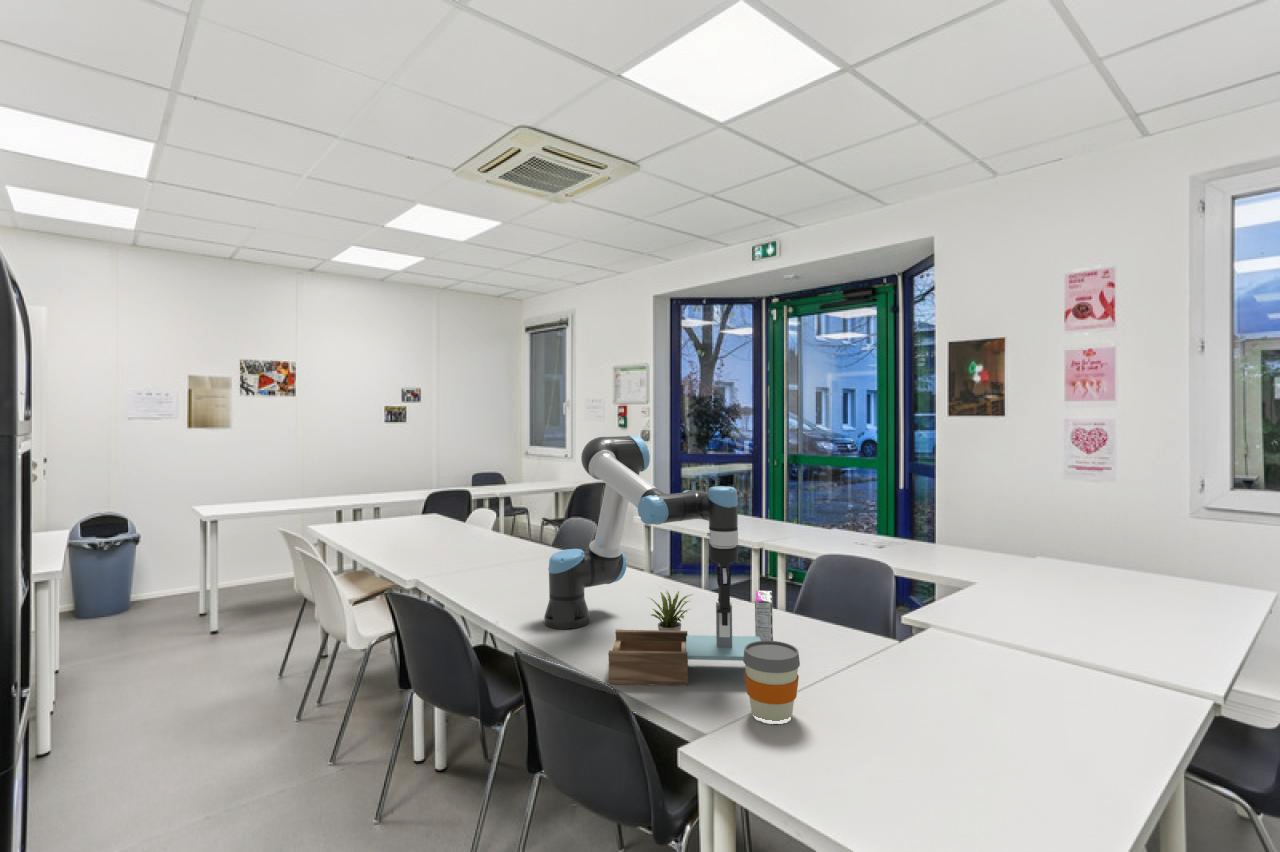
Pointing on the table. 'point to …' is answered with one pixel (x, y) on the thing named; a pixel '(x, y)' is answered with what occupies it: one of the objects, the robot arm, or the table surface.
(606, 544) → the robot arm
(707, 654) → the cover plate
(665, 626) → the house plant
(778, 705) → the reusable coffee cup
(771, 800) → the table surface
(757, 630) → the candy bar box
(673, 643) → the walnut box
